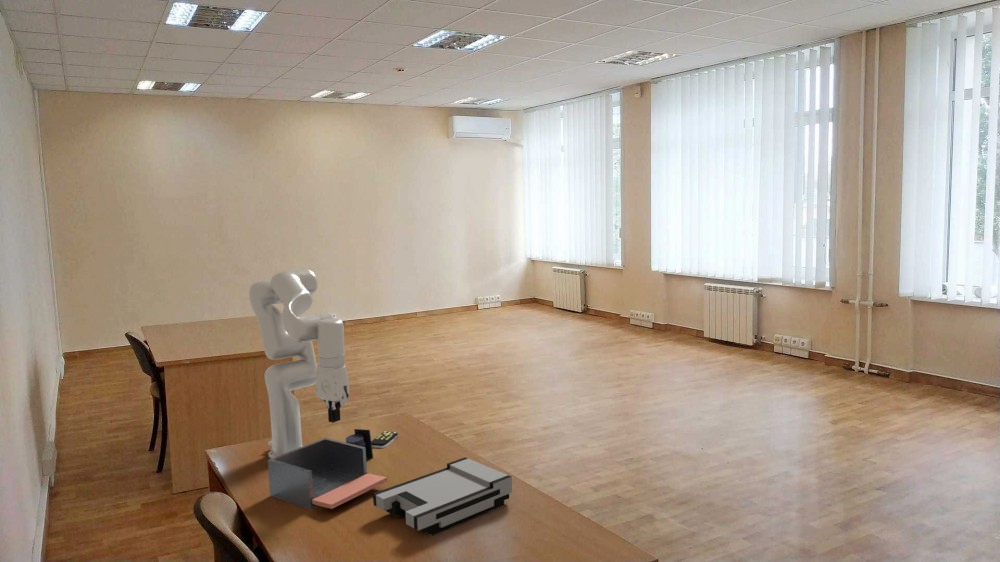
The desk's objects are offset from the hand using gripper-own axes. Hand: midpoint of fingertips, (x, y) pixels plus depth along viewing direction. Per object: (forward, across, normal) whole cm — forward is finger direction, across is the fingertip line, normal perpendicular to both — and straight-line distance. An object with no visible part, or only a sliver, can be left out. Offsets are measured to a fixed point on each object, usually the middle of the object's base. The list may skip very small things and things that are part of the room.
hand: (334, 420), depth 212 cm
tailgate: (+17, +6, -4) cm, 19 cm away
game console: (+20, +38, +4) cm, 43 cm away
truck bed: (+21, -3, -4) cm, 21 cm away
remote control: (+22, -15, +36) cm, 45 cm away
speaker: (+21, -9, +18) cm, 29 cm away
